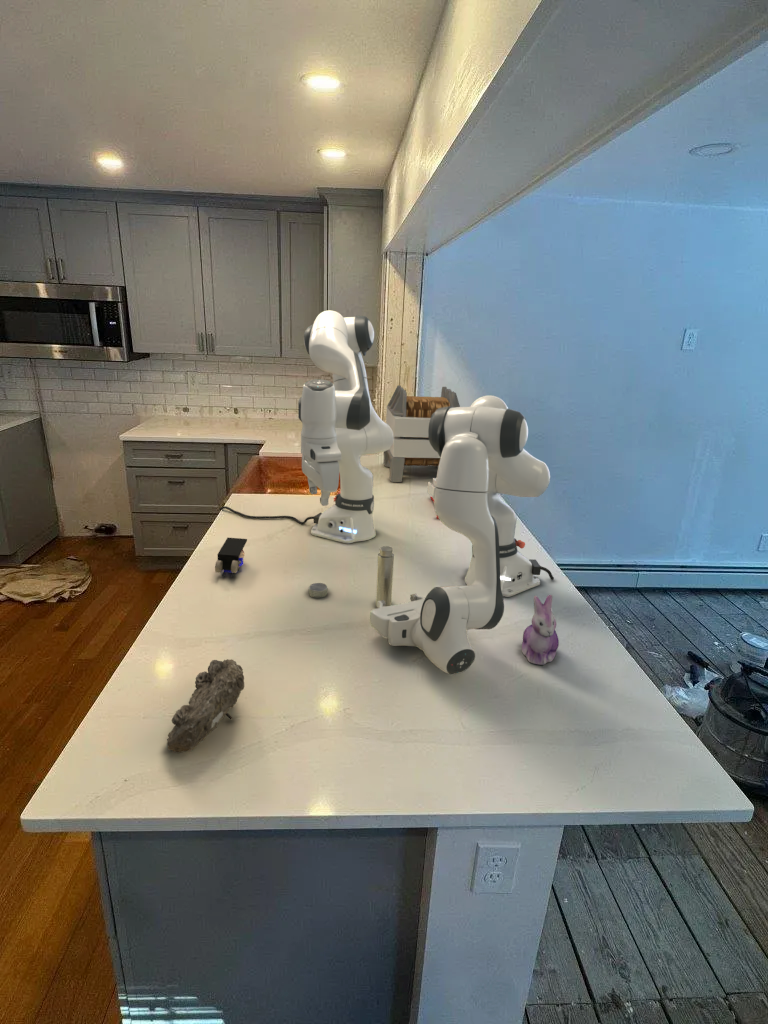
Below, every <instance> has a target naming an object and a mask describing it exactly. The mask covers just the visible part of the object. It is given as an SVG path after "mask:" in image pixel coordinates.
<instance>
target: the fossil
mask: <svg viewBox="0 0 768 1024" xmlns="http://www.w3.org/2000/svg"><path fill="white" fill-rule="evenodd" d="M243 670H244V669H243V667H242V665H240V664H237V662H236V661H235V660H234V659H232V658H231V659H227V658H226V659H224V660H223V661H222V660H217V659H212V660H211V661H210V663H209V665H208V666H207V671H201V672H199V673H198V674H197V675H196V676H195V680H194V684H195V685H194V687H195V689H194V690H193V693H192V694H191V697H190V698H189V700H188V704H184V705H182V706H181V707H180V709H177V710H176V711H175V713H174V715H173V716H172V718H171V723H172V724H173V727H172V730H171V731H170V732H168V734H167V738H166V741H167V742H166V745H167V749H168V750H169V751H173V752H174V753H176V754H178V753H182V752H188V751H189V752H192V751H193V750H195V748H196V747H197V746H199V744H200V743H201V742H203V741H204V740H205V739H206V738H207V737H208V736H209V735H210V734H211V733H212V732H214V730H215V729H217V727H218V726H219V724H220V722H221V721H222V720H223V719H224V718H225V716H226V717H227V719H229V720H233V717H232V715H230V714H229V710H230V709H231V708H234V706H235V704H236V703H237V702H238V699H239V697H240V695H241V693H242V691H243V690H245V689H244V688H245V675H244V671H243Z"/></svg>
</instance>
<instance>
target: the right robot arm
mask: <svg viewBox="0 0 768 1024" xmlns="http://www.w3.org/2000/svg"><path fill="white" fill-rule="evenodd" d="M428 437H429V442H430V444H431V446H432V447H433V449H434V450H435V451H436V452H438V454H439V456H440V457H441V458H440V462H439V467H438V468H437V472H436V477H435V478H436V487H435V497H434V502H433V505H434V512H435V515H436V517H437V516H438V518H439V519H438V520H439V521H440V522H441V523H442V524H443V525H444V526H446V527H447V528H448V529H450V530H452V531H454V532H456V533H458V534H460V535H463V536H464V537H466V538H467V540H469V541H470V542H471V544H472V545H471V558H470V561H469V566H468V569H467V571H466V574H465V576H464V582H465V584H466V585H446V586H435V587H433V588H432V589H431V590H430V591H429V592H428V593H427V595H426V596H425V597H424V596H421V595H419V594H417V593H413V594H410V595H409V597H410V598H409V600H410V601H405V602H401V603H397V604H391V606H386V607H385V605H386V603H385V601H384V600H381V601H377V606H376V608H372V609H371V611H370V612H369V624H370V626H371V627H372V629H374V631H376V632H377V633H378V634H379V635H380V636H381V637H383V638H386V639H387V640H388V641H387V642H388V644H389V645H390V646H393V647H394V646H395V647H397V646H399V647H400V646H404V647H405V646H407V647H417V648H418V649H419V650H420V651H423V654H424V655H425V657H426V658H427V659H428V660H429V661H430V662H431V663H432V664H433V665H434V666H435V667H436V668H438V669H439V670H441V671H442V672H444V673H446V674H448V675H456V674H460V673H463V672H465V671H466V670H468V669H469V668H470V667H472V665H473V663H474V661H475V659H476V651H475V650H474V648H473V646H472V644H471V643H470V641H469V638H468V631H469V630H492V629H494V628H496V626H497V625H499V623H500V621H501V620H502V618H503V617H504V612H505V601H504V597H505V598H511V597H512V596H515V595H518V594H520V593H523V592H525V591H528V590H530V589H532V588H535V587H538V586H540V585H541V580H540V578H539V577H538V576H541V571H543V572H546V573H547V574H548V577H549V579H550V580H551V581H554V579H555V577H554V576H553V574H552V572H551V570H550V569H548V568H546V567H544V566H542V565H540V563H539V562H538V561H537V559H530V558H528V557H527V556H525V555H524V554H523V553H521V552H520V551H519V550H518V548H520V549H524V548H525V547H526V542H525V541H522V540H521V539H518V540H517V539H516V538H515V534H516V527H517V520H518V518H517V514H516V512H515V510H514V509H513V508H512V506H510V505H508V504H507V503H506V502H505V501H504V500H503V499H502V497H501V495H500V494H502V495H507V496H512V497H517V498H539V497H540V496H542V495H543V494H544V493H545V492H546V491H547V489H548V488H549V485H550V482H551V472H550V469H549V466H548V465H547V464H546V462H544V461H542V460H540V459H538V458H536V457H535V456H534V455H532V454H531V453H529V451H527V450H526V449H525V446H526V444H527V441H528V437H529V427H528V423H527V418H526V417H525V415H524V414H523V413H522V412H521V411H518V410H516V409H513V408H509V407H508V405H507V404H506V402H505V401H504V400H503V399H502V398H501V397H498V396H495V395H490V394H489V395H483V396H480V397H478V398H477V399H475V400H474V401H473V402H472V403H471V405H470V406H460V407H455V408H453V407H451V406H449V407H443V408H439V409H437V410H436V411H435V412H434V413H433V414H432V416H431V418H430V422H429V427H428ZM467 630H468V631H467Z"/></svg>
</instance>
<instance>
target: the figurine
mask: <svg viewBox="0 0 768 1024" xmlns="http://www.w3.org/2000/svg"><path fill="white" fill-rule="evenodd" d="M552 608H553V594H548V595H547V596H546V598H545V600H544V602H543V603H542V601H541V599H540V597H538V596H537V595H534V596H533V611H534V613H533V616H532V619H531V624H530V625H528V626H527V627H525V629H524V631H523V634H522V641H521V652H522V654H523V656H524V657H526V659H527V661H528V662H529V663H531V664H535V665H538V666H539V665H546V664H547V663H551V662H553V661H554V659H555V657H556V654H557V650H558V649H559V645H560V644H559V643H560V641H559V636H558V633H557V631H556V628H557V620H556V617H555V615H554V613H553V610H552Z"/></svg>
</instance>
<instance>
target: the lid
mask: <svg viewBox="0 0 768 1024" xmlns="http://www.w3.org/2000/svg"><path fill="white" fill-rule="evenodd" d="M308 594H309V596H310V597H312V598H316V599H317V598H318V599H320V598H324V597H326V596H327V595H328V586H327V584H325V583H323V582H314V583H311V584H310V585H309V587H308Z"/></svg>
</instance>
